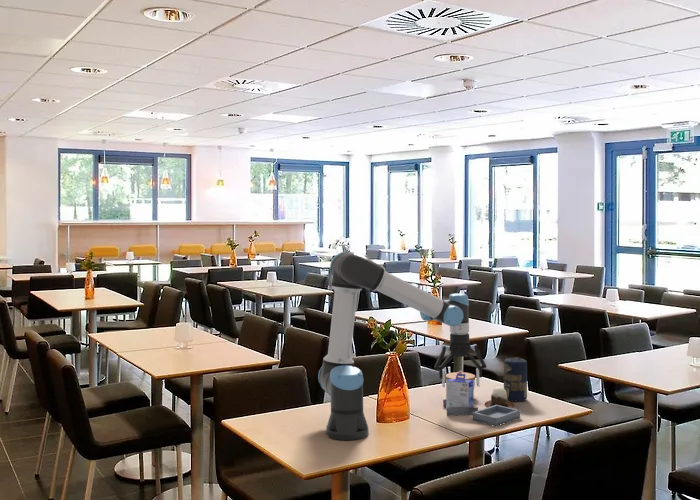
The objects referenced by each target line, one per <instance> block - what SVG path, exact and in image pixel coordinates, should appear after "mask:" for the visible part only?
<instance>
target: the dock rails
mask: <svg viewBox="0 0 700 500" xmlns="http://www.w3.org/2000/svg"><path fill="white" fill-rule="evenodd" d="M442 402H443V403H442V404H443V405H442V407H444V408H446V398H443V399H442ZM478 410H479V406H474V407H447V410H446V416H472V412H475V411H478Z"/></svg>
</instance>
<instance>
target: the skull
mask: <svg viewBox="0 0 700 500" xmlns="http://www.w3.org/2000/svg"><path fill="white" fill-rule="evenodd" d="M507 399H508V398H507V393H506V390H505V389H504V387H502V386H498V387H495V388H493V390H492V393H491V396H490V400H488V401H485V402H484V406H485V408H488V407H491V406H494V405H500V406H504V407H508V408H512V409H514V407H515V406H516V405H515V403H514V402H513V401H509V400H507Z"/></svg>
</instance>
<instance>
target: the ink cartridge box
mask: <svg viewBox="0 0 700 500" xmlns="http://www.w3.org/2000/svg"><path fill="white" fill-rule="evenodd" d="M459 375H462V376H464V377H463V378H462V377H458V376H459ZM445 388H446V389H445V392H446V394H445V396H446V397H445V399H446V407H445V410H446V411H447V407H475V405H474V396H475V395H474V392H475V391H474V390H475V388H474V381H473V380H465V374H459V373H457V376H456V379H453V378H451V379H449V380H447V381H446V380H445Z"/></svg>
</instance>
